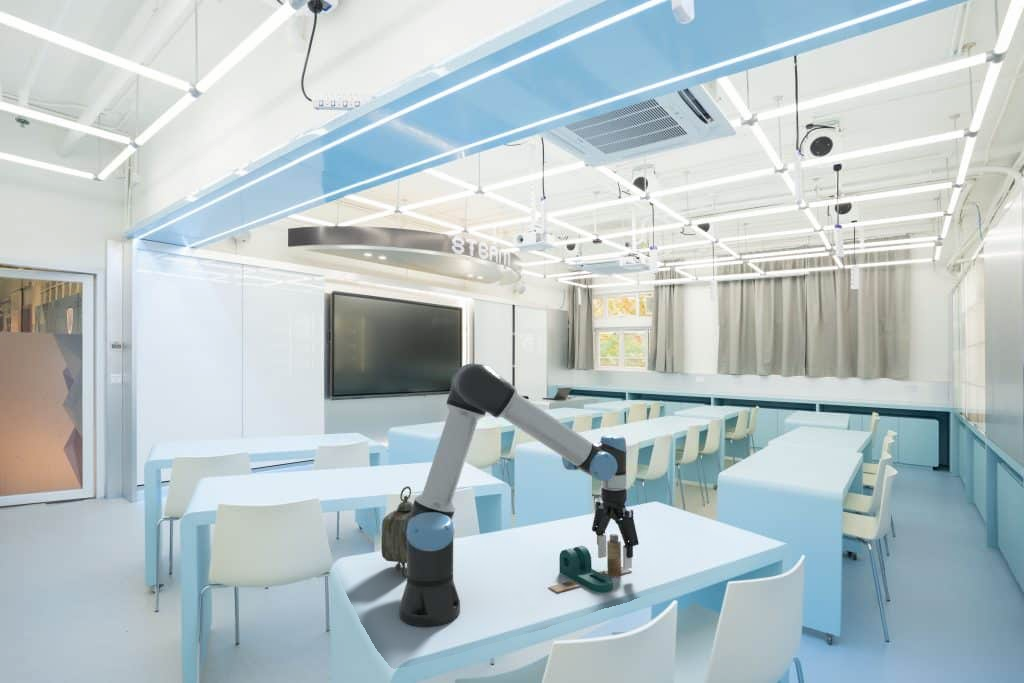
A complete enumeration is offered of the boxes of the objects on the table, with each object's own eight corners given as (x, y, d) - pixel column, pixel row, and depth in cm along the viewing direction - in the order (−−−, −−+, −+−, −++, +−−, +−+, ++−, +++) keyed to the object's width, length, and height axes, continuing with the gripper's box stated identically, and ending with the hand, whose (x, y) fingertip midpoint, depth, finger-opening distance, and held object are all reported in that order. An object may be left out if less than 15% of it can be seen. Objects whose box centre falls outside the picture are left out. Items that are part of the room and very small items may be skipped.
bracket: (559, 573, 162) (559, 547, 162) (577, 569, 165) (577, 543, 166) (599, 595, 147) (599, 566, 147) (617, 589, 150) (617, 561, 150)
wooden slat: (557, 593, 147) (557, 591, 147) (548, 588, 151) (548, 586, 151) (631, 572, 162) (631, 570, 162) (622, 568, 166) (622, 566, 166)
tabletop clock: (407, 580, 157) (408, 493, 158) (379, 577, 159) (380, 491, 160) (427, 562, 171) (427, 482, 172) (401, 559, 173) (401, 481, 174)
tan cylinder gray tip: (613, 576, 158) (612, 538, 159) (604, 571, 162) (604, 534, 162) (623, 573, 160) (623, 536, 161) (615, 569, 164) (615, 532, 164)
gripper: (651, 493, 155) (652, 572, 154) (598, 479, 174) (598, 549, 173) (632, 497, 151) (632, 577, 150) (580, 482, 170) (580, 553, 169)
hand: (614, 562), depth 161 cm, fingers open, 10 cm apart
